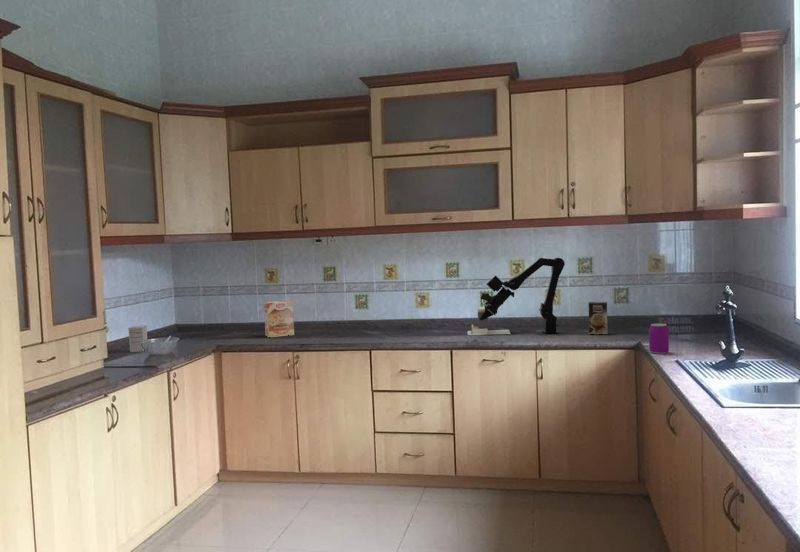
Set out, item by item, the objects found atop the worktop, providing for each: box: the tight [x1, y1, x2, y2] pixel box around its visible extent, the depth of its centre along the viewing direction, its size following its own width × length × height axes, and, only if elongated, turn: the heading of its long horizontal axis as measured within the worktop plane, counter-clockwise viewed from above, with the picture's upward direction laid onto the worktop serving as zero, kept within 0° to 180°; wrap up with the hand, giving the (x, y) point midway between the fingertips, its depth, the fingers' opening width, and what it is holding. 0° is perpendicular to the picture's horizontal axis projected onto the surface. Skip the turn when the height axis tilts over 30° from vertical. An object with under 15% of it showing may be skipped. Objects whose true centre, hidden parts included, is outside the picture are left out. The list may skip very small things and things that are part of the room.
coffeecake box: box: [263, 299, 295, 338], centre depth 390 cm, size 15×7×20 cm, turn 118°
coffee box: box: [588, 301, 608, 335], centre depth 349 cm, size 9×6×16 cm
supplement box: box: [127, 324, 148, 353], centre depth 357 cm, size 7×7×13 cm
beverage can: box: [648, 323, 670, 355], centre depth 293 cm, size 8×8×12 cm
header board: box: [467, 324, 511, 336], centre depth 362 cm, size 22×14×5 cm, turn 85°
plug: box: [477, 308, 489, 329], centre depth 362 cm, size 5×4×11 cm
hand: (480, 319), depth 362 cm, fingers closed on plug, 4 cm apart
